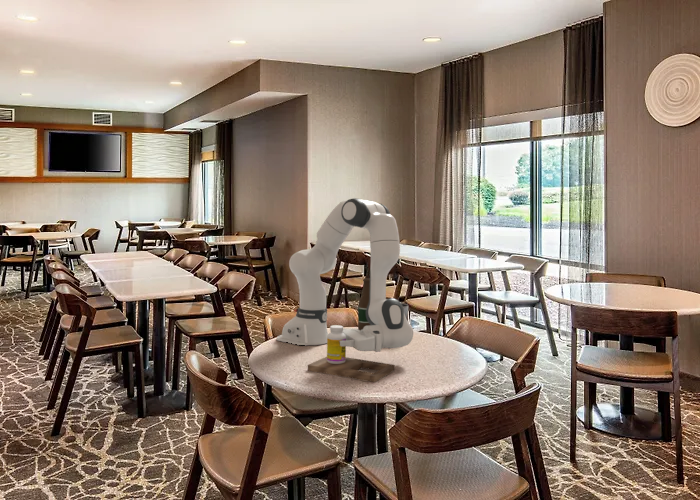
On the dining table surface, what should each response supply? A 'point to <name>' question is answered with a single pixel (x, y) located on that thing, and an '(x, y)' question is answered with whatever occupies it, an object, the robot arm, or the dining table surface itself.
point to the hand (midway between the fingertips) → (335, 340)
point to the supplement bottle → (336, 345)
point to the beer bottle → (363, 305)
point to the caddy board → (353, 369)
